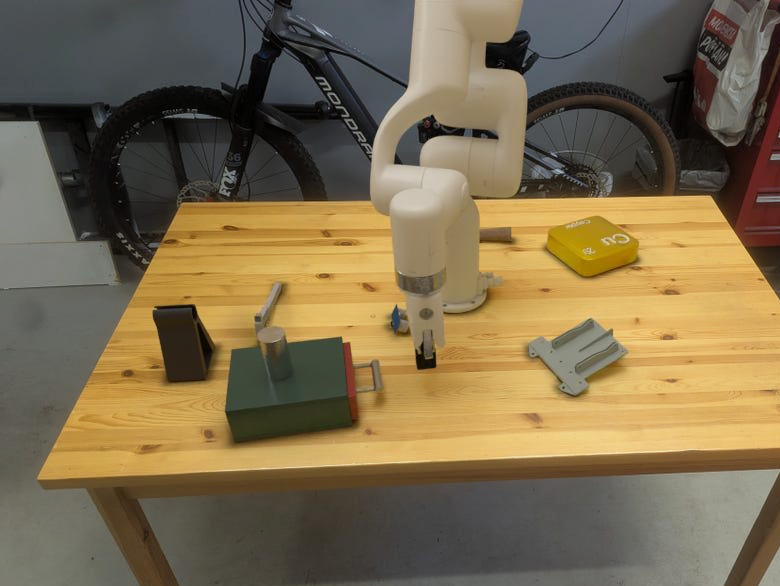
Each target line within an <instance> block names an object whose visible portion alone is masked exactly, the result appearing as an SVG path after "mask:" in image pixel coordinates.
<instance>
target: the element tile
mask: <svg viewBox="0 0 780 586" xmlns="http://www.w3.org/2000/svg"><path fill="white" fill-rule="evenodd" d="M639 247H640V241H639V239H637V238H636V237H634V236H633V235H630V233H628V232H626V231H625V230H623V229H621V227H619V226H617V225H616V224H614V223H612V222H611V221H609V220H608V219H607V218H605V217H603V216H601V215H592V216H588V217H585V218H581V219H578V220H575V221H571V222H568V223H564V224H561V225H558V226H555V227H551V228H550V229H549V230H548V231H547V238H546V249H547V250H548V251H549V252H550V253H551V254H553V255H554V256H555V257H556V258H558V259H559V260H560V261H562V262H563V263H564V264H566V265H567V266H568V267H569V268H571V269H572V270H574V272H576V273H577V274H578V275H580V276H583V277H589V278H590V277H594V276H596V275H597V276H598V275H600V274H603V273H605V272H608V271H610V270H614V269H617V268H620V267H622V266H626V265H629V264H631V263H634V262H635V261H636V260H637V256H638V252H639Z"/></svg>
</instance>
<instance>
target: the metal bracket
mask: <svg viewBox="0 0 780 586" xmlns="http://www.w3.org/2000/svg"><path fill="white" fill-rule="evenodd" d="M528 353H529V357H530V358H532V359H533V358H536V357H539V358H540V359H541V360H542V361H543V362H544V364H545V365H546V366H547V367H548V368H549V369H550V370H551V372H553V373H554V375H555V376H556V377H558V378H559V380H560V381H561V382H562V384H560V385H559V386H558V389H559V390H560V391H561V392H564V393H567V394H568V395H572V396H578V395H579V394H581V393H582V392H584V391H587V390H588V389H589V388H590V384H589V383H588V382H587V381H586V379H587V378H589V377H591V376H592V375H594V374H595V373H597V372H599V371H600V370H602V369H604V368H606V367H607V366H609V365H610V364H613V363H614V362H616V361H618V360H619V359H621V358H622V357H624V356H626V355H627V354H629V350H628V349H627V348H626V347H625V346H624V345H622V344H621V342H619V340H617V339H616V338H615V337H614V328H612V327H611V328H610V329H607V330H606V329H605V328H604V327H603V326H602V325H601V324H600V323H599V322H598V321H597V320H595V318H593V317H589V318H587V319H586V320H584V321H582V322H580V323H579V324H577V325H575V326H574V327H571V328H569V329H568V330H566V331H565V332H562V333H561V334H559V335H558V336H556V337H554V338H552V339H551V340H548V339H546V338H545V337H544V336H543V335H541V336H540V335H539V336H538V337H536V338H535V339H533V340H532V341H531V340H530V342H529V343H528Z"/></svg>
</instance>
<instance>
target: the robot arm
mask: <svg viewBox="0 0 780 586" xmlns="http://www.w3.org/2000/svg"><path fill="white" fill-rule="evenodd" d="M524 1H525V0H414V9H413V10H414V11H413V22H412V23H413V25H412V34H411V35H412V36H411V48H410V60H409V61H410V62H409V73H408V75H409V77H408V85H407V89H406V90H405V92H404V94H402V96H401V97H400V98H399V99H398V100H397V101H396V102H395V103H394V104H393V105H392V106H391V107H390V108H389V110H388V111H387V112H386V114H385V116H384V117H383V119H382V121H381V122H380V125H379V127H378V129H377V131H376V134H375V137H374V139H373V144H372V150H371V162H370V163H371V165H370V178H369V197H370V201H371V205H372V207H373V209H374V210H375V211H376V212H377V213H379V214H381V215H382V216H384V217H385V216H386V217H389V225H390V234H391V245H392V255H393V257H392V258H393V265H394V266H393V269H394V278H395V286H396V289H398V290H399V291H400V292H401V293H403V294H404V301H405V310H406V312H407V313H406V317H407V321H408V322H409V330H410V334H411V338H412V342H413V347H414V356H415V366H416V370H417V371H425V370H432V369H436V368H437V350H436V349H437V348H438V349H442V348H445V346H446V332H445V317H444V313H450V314H456V313H459V314H460V313H466V312H469V311H473V310H474V309H477V308H478V307H479V306H481V305H482V304H484V302H485V300H486V298H487V290H488V288H498V287H503V286H504V279H503V276H495V274H494V271H488V272H487V271H486V272H482V271H480V240H479V239H480V229H481V216H480V211H479V208H478V205H477V204H476V202H475V200H474V198H473V197H484V198H497V199H506V198H511V197H513V196H515V195H516V194H517V193H518V191H519V189H520V186H521V183H522V177H523V168H524V167H523V166H524V153H525V142H526V141H525V140H526V131H527V116H528V87H527V83H526V80H525V78H524V77H523V75H522V74H520V72H518V71H516V70H511V69H506V68H490V67H487V66H486V54H487V53H486V51H487V43H494V44H496V43H497V44H502V43H507V42H509V41H510V40H511V39H512V38H513V37H514V35H515V33H516V31H517V28H518V26H519V22H520V17H521V14H522V9H523V4H524ZM430 116H433V117H434V119H435V121H436V122H437V123H439V124H440V125H443V126H445V127H451V128H458V129H469V130H471V129H472V130H485V131H493V132H494V133H496V134H497V136H498V137H497V139H496V138H483V137H474V136H462V135H438V136H435V137H432V138H430V139H428V140H427V141H426V142H425V143H424V144H423V145H422V147H421V149H420V152H419V153H420V154H419V165H408V164H395V157H396V151H397V148H398V145H399V142H400V140H401V139H402V137H403V135H404V134H405V133H406V131H408V130H409V129H410V128H411V127H412V126H414V125H416V124H417V123H419V122H420V121H422V120H424V119H426V118H428V117H430ZM436 347H437V348H436Z"/></svg>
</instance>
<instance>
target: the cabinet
mask: <svg viewBox="0 0 780 586" xmlns="http://www.w3.org/2000/svg"><path fill="white" fill-rule="evenodd" d="M287 343H288V348H289V352H290V357H291V361H292V366H293V374H292V375H291V376H290V377H289V378H287V379H285V380H281V381H274V380H271V379H269V378H268V376H267V373H266V369H265V365H264V362H263V358H262V354H261V350H260V346H259V345H257V346H247V347H239V348H231V350H230V358H229V359H230V360H229V367H228V368H229V369H228V377H227V378H228V379H227V387H226V398H225V405H224V413H225V417H226V420H227V423H228V426H229V429H230V432H231V435H232V438H233V442H234V443H242V442H249V441H255V440H261V439H270V438H277V437H285V436H292V435H299V434H305V433H306V434H307V433H313V432H319V431H326V430H327V431H328V430H335V429H341V428H349V427H353V419H351V414H350V407H349V401H348V392H347V382H346V371H345V360H344V350H343V343H344V340H343V336H342V335H341V336H333V337H325V338H317V339H308V340H299V341H290V342H287Z"/></svg>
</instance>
